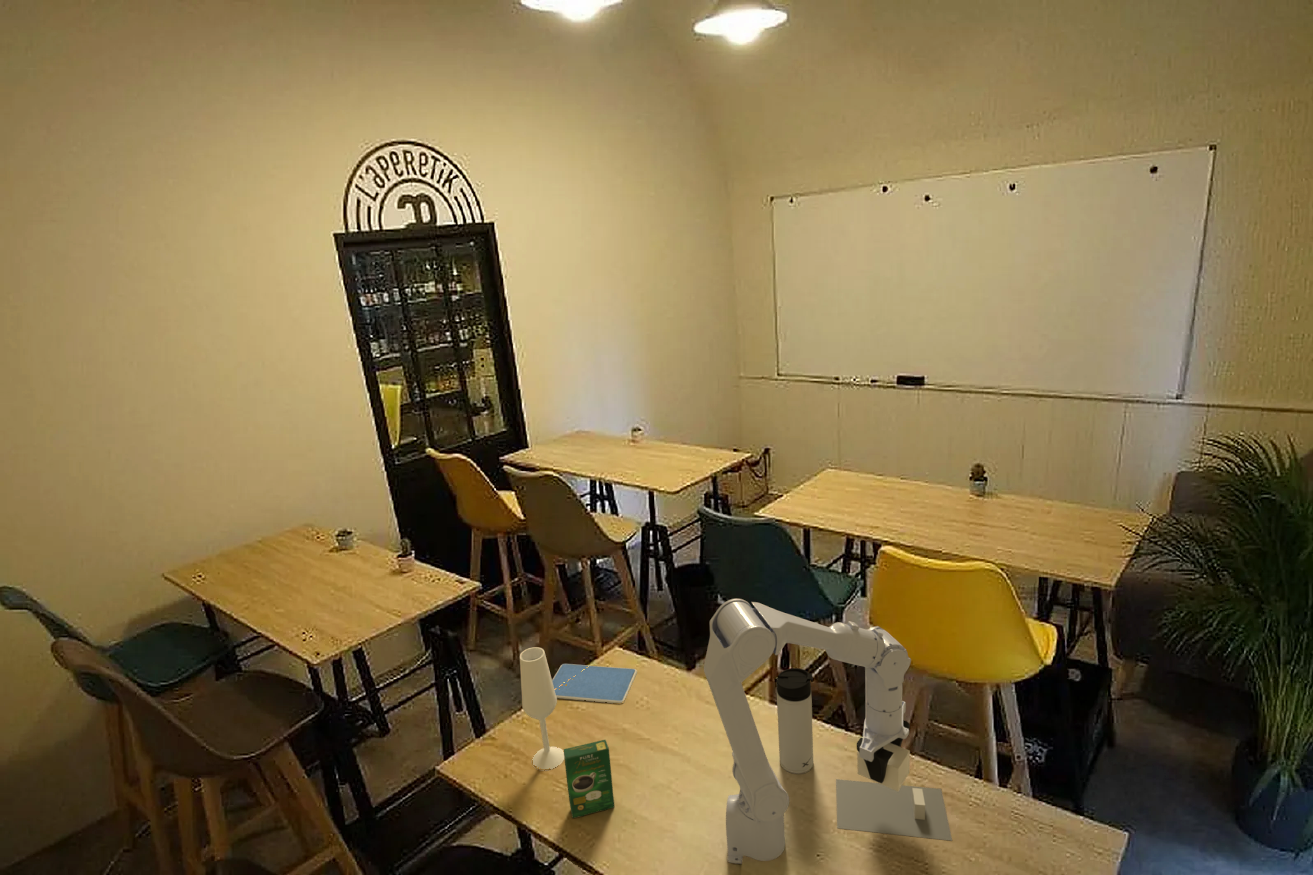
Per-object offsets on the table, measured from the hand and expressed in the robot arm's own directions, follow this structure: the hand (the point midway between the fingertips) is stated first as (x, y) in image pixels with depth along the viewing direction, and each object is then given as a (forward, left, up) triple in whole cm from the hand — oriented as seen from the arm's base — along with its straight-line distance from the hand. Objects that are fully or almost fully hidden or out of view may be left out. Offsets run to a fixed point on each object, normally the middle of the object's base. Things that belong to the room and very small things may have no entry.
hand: (883, 769), depth 118 cm
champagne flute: (-64, +5, -9) cm, 65 cm away
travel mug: (-15, +9, -9) cm, 20 cm away
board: (+1, 0, -9) cm, 9 cm away
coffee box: (-51, -6, -9) cm, 52 cm away
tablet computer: (-63, +29, -10) cm, 70 cm away
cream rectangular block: (0, 0, -1) cm, 1 cm away
